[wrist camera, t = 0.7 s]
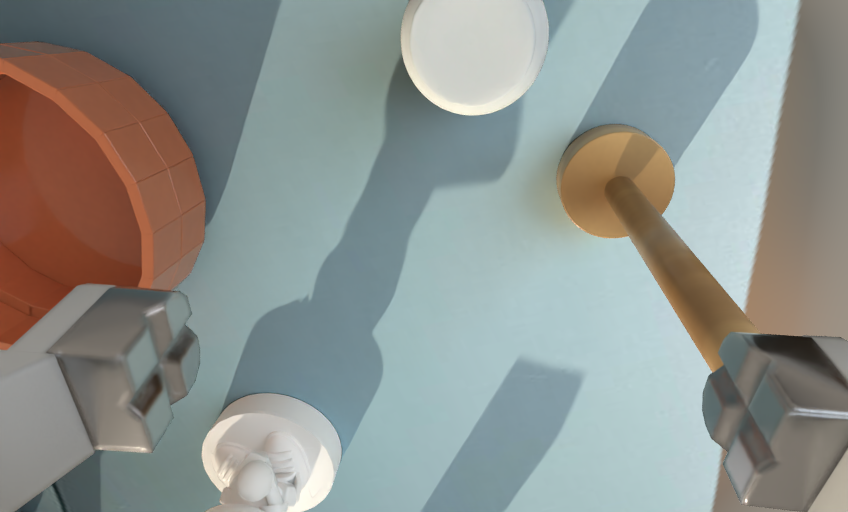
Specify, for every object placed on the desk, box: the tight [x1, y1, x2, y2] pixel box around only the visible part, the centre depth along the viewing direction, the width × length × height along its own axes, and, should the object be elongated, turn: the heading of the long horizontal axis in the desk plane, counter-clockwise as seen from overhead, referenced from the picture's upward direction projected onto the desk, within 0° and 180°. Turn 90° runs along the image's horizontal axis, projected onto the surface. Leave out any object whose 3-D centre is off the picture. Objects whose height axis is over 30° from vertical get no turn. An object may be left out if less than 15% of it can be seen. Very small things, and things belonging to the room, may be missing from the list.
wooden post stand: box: [556, 124, 761, 372], centre depth 20 cm, size 5×5×18 cm
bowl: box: [0, 41, 206, 350], centre depth 29 cm, size 15×15×6 cm
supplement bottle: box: [401, 0, 549, 115], centre depth 22 cm, size 5×5×10 cm
